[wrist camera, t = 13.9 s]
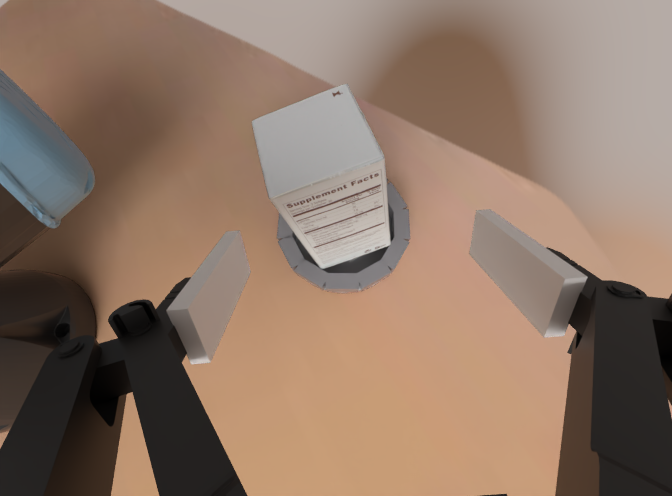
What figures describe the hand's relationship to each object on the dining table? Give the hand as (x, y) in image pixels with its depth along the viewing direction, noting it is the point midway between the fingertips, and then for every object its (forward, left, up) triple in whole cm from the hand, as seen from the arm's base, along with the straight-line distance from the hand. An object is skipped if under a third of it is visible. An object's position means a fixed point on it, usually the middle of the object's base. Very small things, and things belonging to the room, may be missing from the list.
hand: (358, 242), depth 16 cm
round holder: (-4, +4, -14) cm, 15 cm away
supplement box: (-3, +4, -12) cm, 13 cm away
